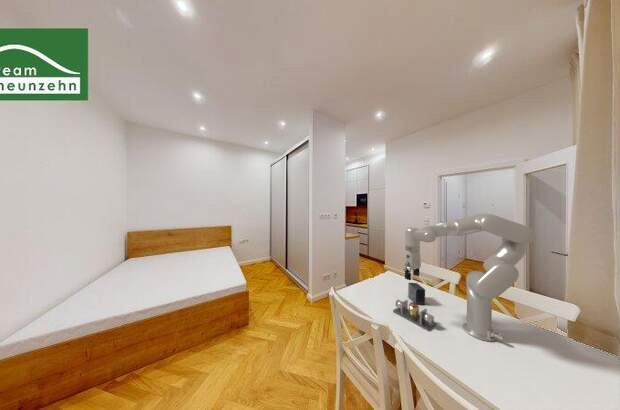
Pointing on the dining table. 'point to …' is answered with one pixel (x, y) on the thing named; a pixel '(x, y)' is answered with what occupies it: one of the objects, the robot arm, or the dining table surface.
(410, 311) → the valve
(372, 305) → the dining table surface
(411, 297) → the small box
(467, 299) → the robot arm
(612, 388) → the dining table surface
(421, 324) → the grey bar with knobs
